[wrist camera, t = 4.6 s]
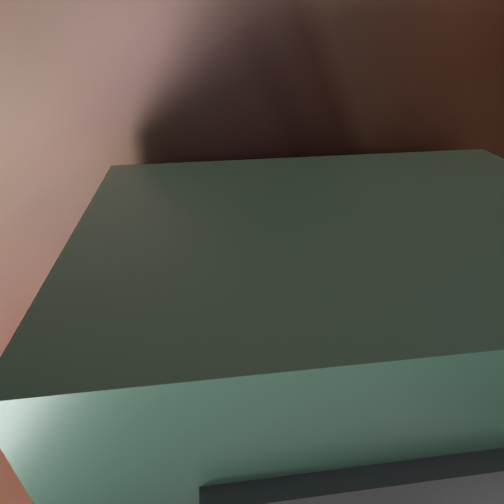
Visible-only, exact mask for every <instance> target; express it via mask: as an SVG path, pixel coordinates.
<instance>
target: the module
mask: <svg viewBox="0 0 504 504" xmlns="http://www.w3.org/2000/svg"><path fill="white" fill-rule="evenodd" d="M0 448H1V450H2V452H3V453H4V455H5V457H6V458H7V460H8V462H9V463H10V465H11V467H12V468H13V470H14V472H15V473H16V475H17V477H18V478H19V480H20V482H21V483H22V485H23V487H24V488H25V490H26V492H27V493H28V495H29V497H30V498H31V500H32V502H33V503H34V504H504V158H502V157H499V156H497V155H495V154H493V153H491V152H489V151H486V150H484V149H470V150H448V151H425V152H403V153H381V154H359V155H337V156H314V157H292V158H270V159H248V160H226V161H203V162H181V163H159V164H137V165H115V166H111V167H110V169H109V171H108V173H107V174H106V176H105V178H104V180H103V181H102V183H101V185H100V186H99V188H98V190H97V192H96V193H95V195H94V197H93V198H92V200H91V202H90V204H89V205H88V207H87V209H86V211H85V212H84V214H83V216H82V217H81V219H80V221H79V223H78V224H77V226H76V228H75V230H74V231H73V233H72V235H71V236H70V238H69V240H68V242H67V243H66V245H65V247H64V249H63V250H62V252H61V254H60V255H59V257H58V259H57V261H56V262H55V264H54V266H53V268H52V269H51V271H50V273H49V274H48V276H47V278H46V280H45V281H44V283H43V285H42V287H41V288H40V290H39V292H38V293H37V295H36V297H35V299H34V300H33V302H32V304H31V306H30V307H29V309H28V311H27V312H26V314H25V316H24V318H23V319H22V321H21V323H20V325H19V326H18V328H17V330H16V331H15V333H14V335H13V337H12V338H11V340H10V342H9V344H8V345H7V347H6V349H5V350H4V352H3V354H2V356H1V357H0Z"/></svg>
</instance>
